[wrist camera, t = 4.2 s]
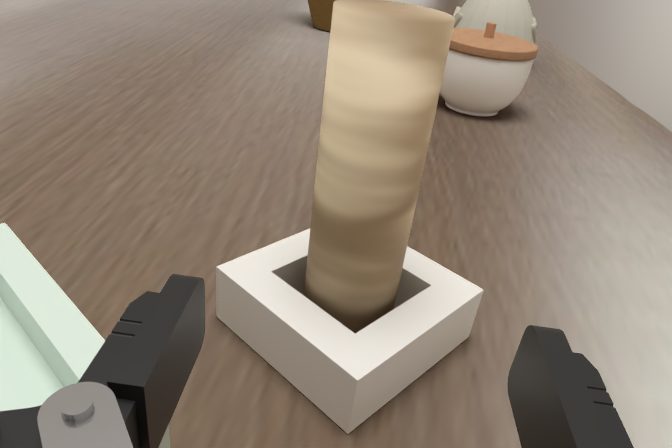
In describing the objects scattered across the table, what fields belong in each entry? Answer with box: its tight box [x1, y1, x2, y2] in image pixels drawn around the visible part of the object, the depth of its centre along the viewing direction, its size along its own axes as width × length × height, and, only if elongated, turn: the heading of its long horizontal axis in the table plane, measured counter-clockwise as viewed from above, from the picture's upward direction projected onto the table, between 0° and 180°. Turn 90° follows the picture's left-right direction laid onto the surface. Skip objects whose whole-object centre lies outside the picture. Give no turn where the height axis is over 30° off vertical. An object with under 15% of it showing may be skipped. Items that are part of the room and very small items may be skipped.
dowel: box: [304, 0, 455, 333], centre depth 23 cm, size 4×4×15 cm
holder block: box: [216, 229, 483, 434], centre depth 26 cm, size 9×9×3 cm
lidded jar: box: [440, 22, 538, 117], centre depth 60 cm, size 11×11×9 cm
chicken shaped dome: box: [453, 0, 537, 43], centre depth 82 cm, size 14×14×15 cm
